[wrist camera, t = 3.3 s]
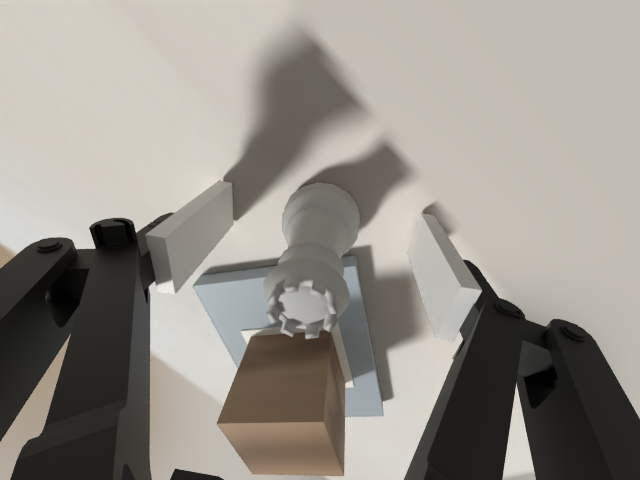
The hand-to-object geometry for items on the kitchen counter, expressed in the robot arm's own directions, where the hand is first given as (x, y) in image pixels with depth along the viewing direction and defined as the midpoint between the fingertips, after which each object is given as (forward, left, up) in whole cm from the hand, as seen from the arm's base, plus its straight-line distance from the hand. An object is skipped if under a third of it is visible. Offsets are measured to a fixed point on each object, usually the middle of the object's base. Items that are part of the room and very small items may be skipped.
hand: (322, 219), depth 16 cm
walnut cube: (+11, -4, +1) cm, 12 cm away
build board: (+11, -4, 0) cm, 12 cm away
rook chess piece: (0, 0, 0) cm, 0 cm away
